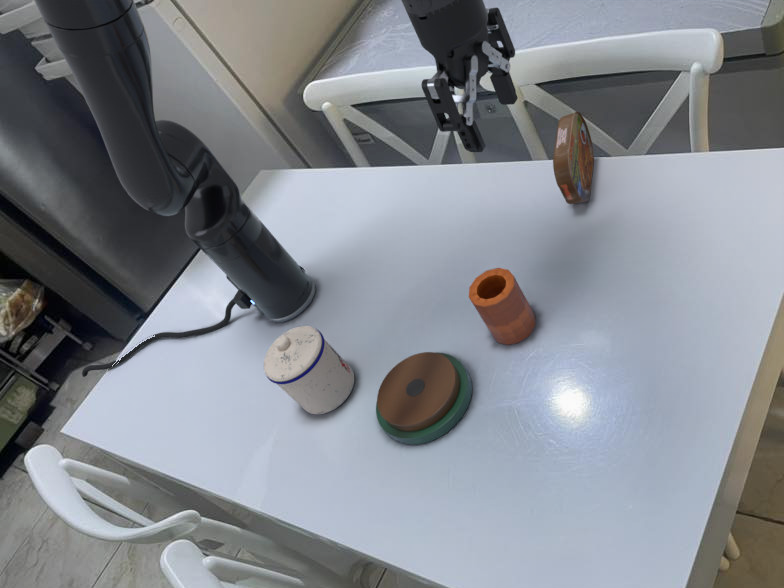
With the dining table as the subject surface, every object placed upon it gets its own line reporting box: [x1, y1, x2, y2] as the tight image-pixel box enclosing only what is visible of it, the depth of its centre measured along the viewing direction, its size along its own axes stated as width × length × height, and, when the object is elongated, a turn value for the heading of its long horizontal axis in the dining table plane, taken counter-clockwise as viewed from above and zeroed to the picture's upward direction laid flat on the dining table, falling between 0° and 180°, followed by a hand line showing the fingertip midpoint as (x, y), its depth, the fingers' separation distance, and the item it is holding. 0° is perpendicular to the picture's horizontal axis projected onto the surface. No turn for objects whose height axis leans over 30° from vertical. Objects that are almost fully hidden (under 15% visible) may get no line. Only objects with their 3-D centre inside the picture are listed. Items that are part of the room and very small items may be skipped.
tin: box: [552, 111, 595, 205], centre depth 101 cm, size 15×3×8 cm, turn 168°
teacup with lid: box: [263, 325, 355, 415], centre depth 95 cm, size 12×9×12 cm
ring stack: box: [375, 351, 473, 445], centre depth 89 cm, size 13×13×3 cm
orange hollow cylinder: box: [468, 267, 537, 346], centre depth 89 cm, size 6×6×8 cm
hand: (493, 126), depth 81 cm, fingers open, 8 cm apart
